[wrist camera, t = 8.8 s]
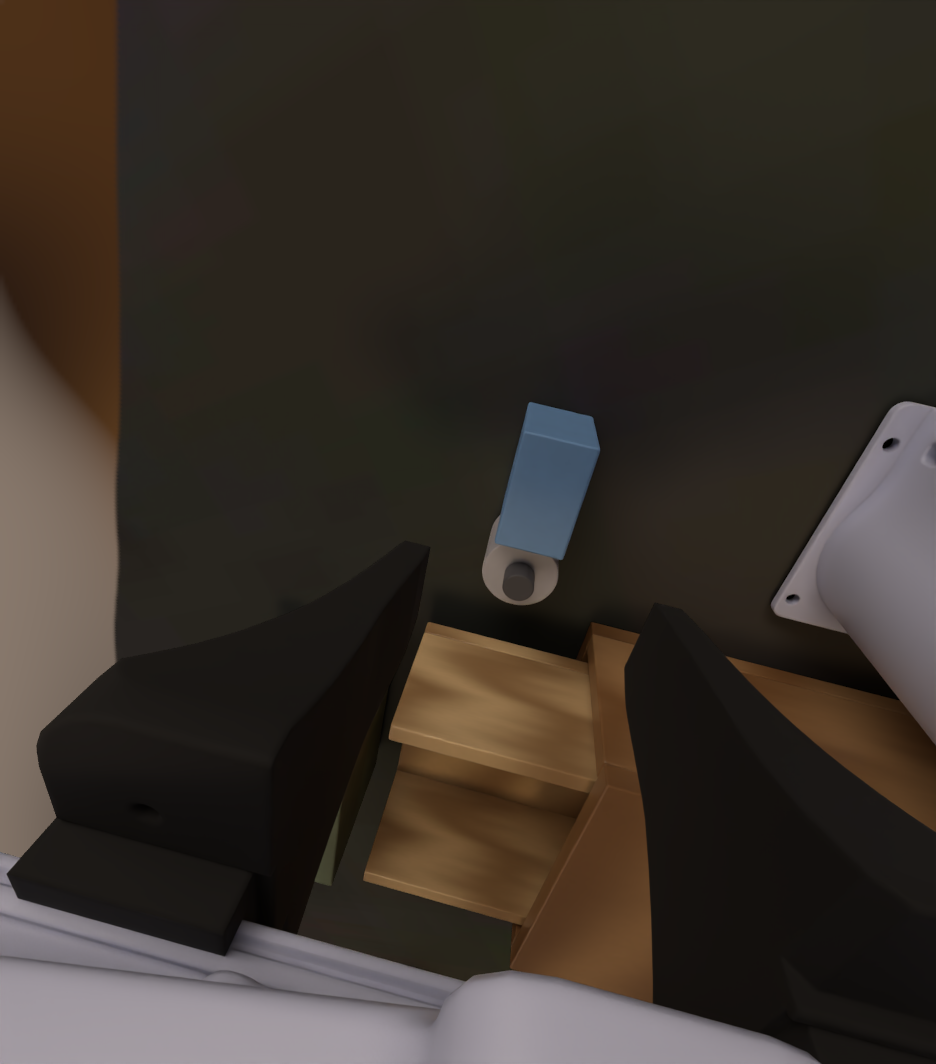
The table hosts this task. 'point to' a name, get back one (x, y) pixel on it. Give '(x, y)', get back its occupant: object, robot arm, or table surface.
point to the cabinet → (619, 824)
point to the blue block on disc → (540, 504)
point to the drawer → (476, 774)
